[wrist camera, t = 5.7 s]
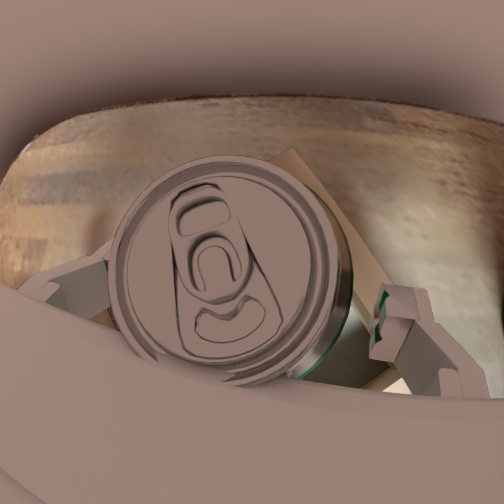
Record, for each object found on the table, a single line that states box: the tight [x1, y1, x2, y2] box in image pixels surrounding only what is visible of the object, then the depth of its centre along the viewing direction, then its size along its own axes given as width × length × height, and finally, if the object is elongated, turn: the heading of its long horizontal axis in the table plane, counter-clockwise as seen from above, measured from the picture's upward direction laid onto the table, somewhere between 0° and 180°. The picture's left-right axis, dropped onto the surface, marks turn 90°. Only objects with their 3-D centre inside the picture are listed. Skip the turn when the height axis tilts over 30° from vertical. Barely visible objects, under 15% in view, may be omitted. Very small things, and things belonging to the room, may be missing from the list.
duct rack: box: [87, 147, 412, 394], centre depth 15 cm, size 24×14×3 cm, turn 121°
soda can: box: [107, 155, 354, 388], centre depth 11 cm, size 5×5×12 cm
